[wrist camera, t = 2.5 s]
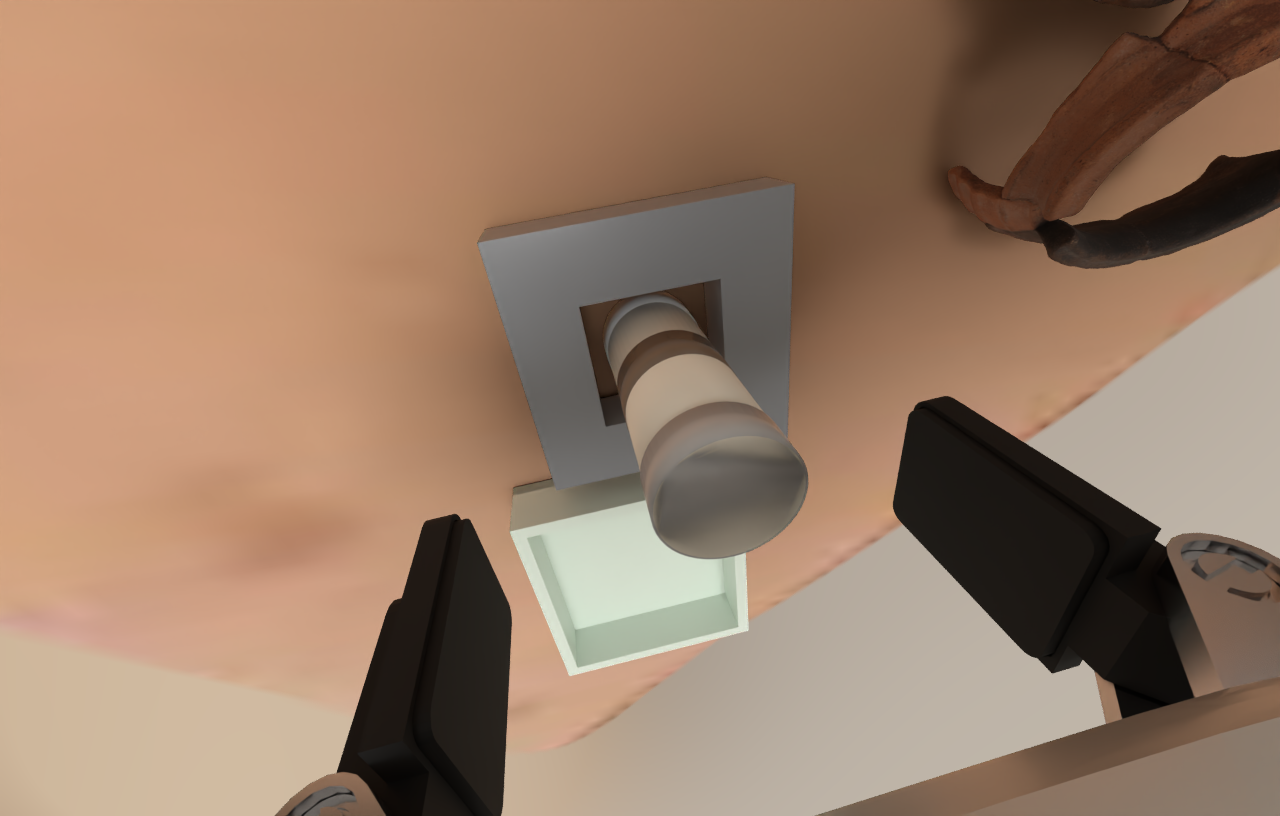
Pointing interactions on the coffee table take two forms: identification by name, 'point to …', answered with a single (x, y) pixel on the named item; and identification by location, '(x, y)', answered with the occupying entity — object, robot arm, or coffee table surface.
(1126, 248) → the pottery mug
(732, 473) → the cylinder
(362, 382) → the coffee table surface
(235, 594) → the coffee table surface
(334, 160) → the coffee table surface
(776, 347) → the socket block
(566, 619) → the parts tray
